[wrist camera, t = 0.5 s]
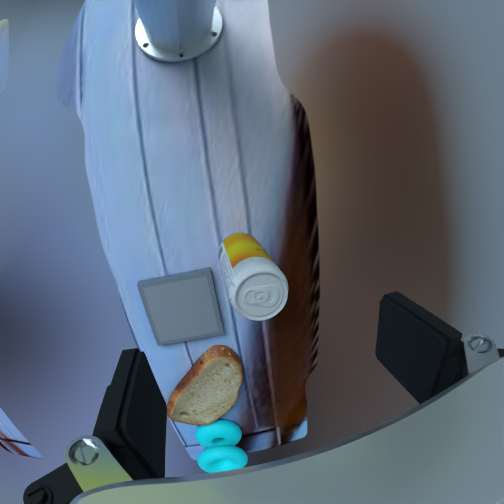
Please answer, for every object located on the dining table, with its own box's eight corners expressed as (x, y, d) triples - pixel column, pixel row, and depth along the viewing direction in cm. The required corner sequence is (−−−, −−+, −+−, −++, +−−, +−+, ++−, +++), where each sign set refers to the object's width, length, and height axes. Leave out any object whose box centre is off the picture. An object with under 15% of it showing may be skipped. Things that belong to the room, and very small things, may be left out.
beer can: (257, 272, 43) (287, 323, 29) (216, 271, 42) (228, 324, 27) (261, 232, 41) (295, 268, 27) (219, 230, 40) (232, 267, 26)
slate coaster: (138, 281, 40) (137, 284, 38) (210, 267, 41) (210, 270, 40) (158, 341, 43) (157, 345, 42) (223, 330, 45) (224, 334, 43)
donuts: (259, 462, 44) (223, 479, 45) (249, 427, 54) (218, 446, 54) (223, 449, 41) (187, 467, 41) (217, 410, 50) (185, 431, 51)
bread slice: (231, 338, 46) (235, 351, 42) (259, 402, 52) (263, 415, 48) (136, 365, 44) (133, 379, 41) (178, 424, 50) (178, 437, 47)
